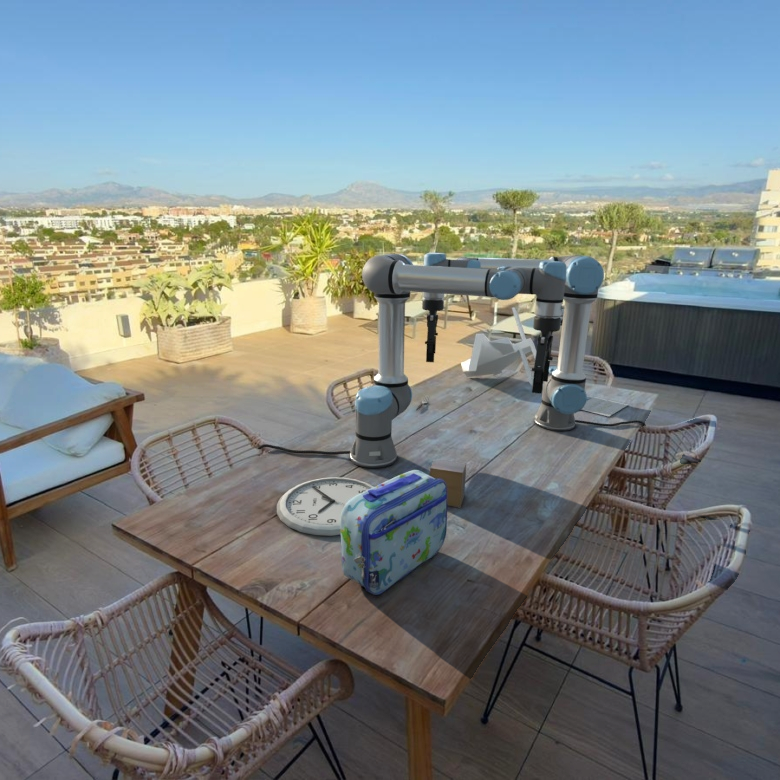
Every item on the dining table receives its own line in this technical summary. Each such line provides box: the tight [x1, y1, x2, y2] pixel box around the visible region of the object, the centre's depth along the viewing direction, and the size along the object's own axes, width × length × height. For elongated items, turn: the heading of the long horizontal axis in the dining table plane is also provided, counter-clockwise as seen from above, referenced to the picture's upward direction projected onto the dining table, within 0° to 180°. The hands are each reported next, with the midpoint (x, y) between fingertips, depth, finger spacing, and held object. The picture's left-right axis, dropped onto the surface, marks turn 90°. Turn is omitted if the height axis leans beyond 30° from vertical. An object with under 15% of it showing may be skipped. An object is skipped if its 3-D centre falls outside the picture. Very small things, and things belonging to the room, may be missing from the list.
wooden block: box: [429, 458, 467, 508], centre depth 145 cm, size 6×9×10 cm
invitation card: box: [580, 396, 629, 418], centre depth 226 cm, size 21×1×15 cm
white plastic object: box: [460, 306, 544, 388], centre depth 259 cm, size 37×45×31 cm
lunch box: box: [340, 469, 448, 596], centre depth 114 cm, size 26×11×21 cm, turn 134°
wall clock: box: [276, 476, 375, 537], centre depth 142 cm, size 30×2×30 cm
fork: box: [415, 395, 430, 411], centre depth 223 cm, size 3×16×2 cm, turn 160°
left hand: (540, 386), depth 157 cm, fingers open, 13 cm apart
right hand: (430, 357), depth 190 cm, fingers open, 13 cm apart
